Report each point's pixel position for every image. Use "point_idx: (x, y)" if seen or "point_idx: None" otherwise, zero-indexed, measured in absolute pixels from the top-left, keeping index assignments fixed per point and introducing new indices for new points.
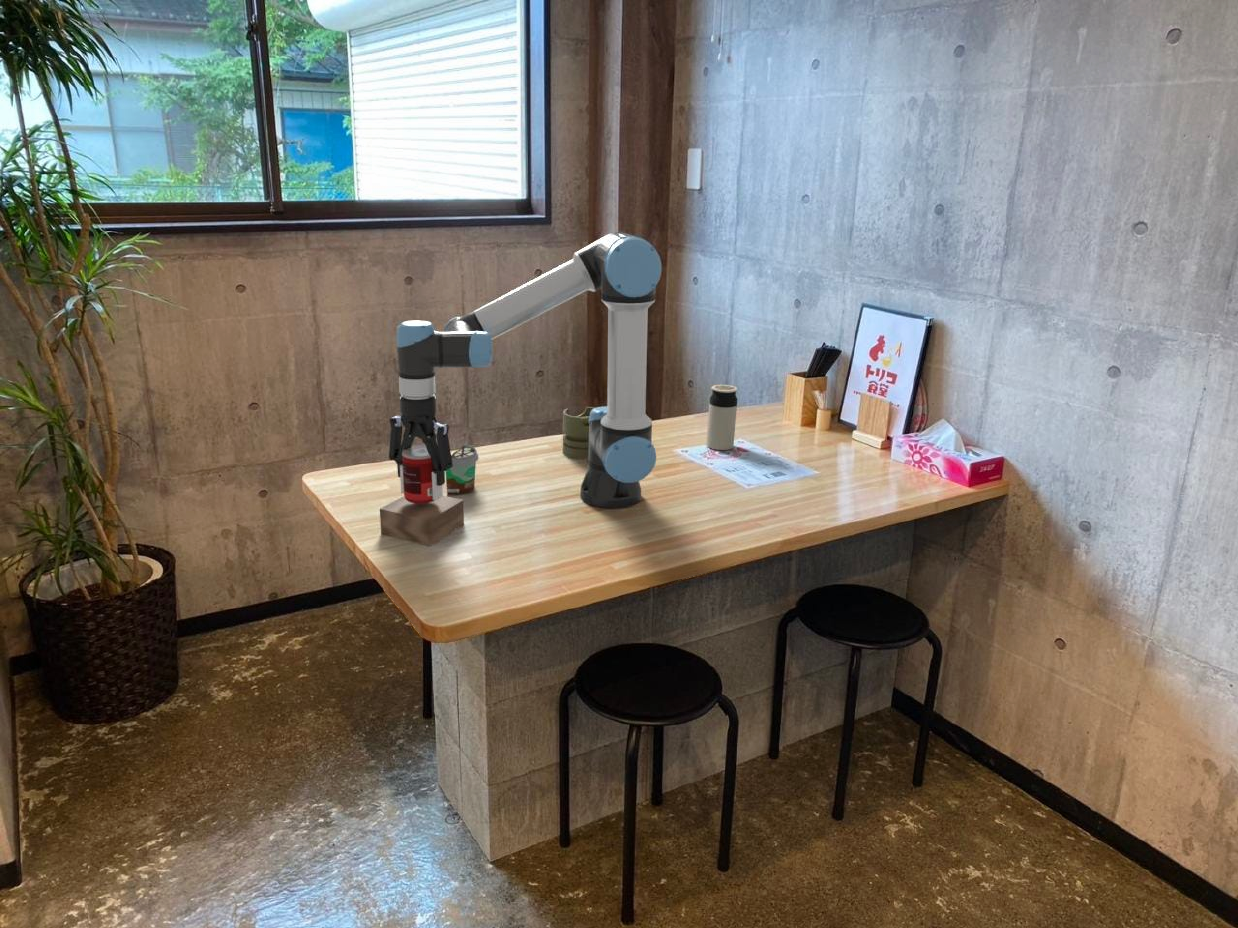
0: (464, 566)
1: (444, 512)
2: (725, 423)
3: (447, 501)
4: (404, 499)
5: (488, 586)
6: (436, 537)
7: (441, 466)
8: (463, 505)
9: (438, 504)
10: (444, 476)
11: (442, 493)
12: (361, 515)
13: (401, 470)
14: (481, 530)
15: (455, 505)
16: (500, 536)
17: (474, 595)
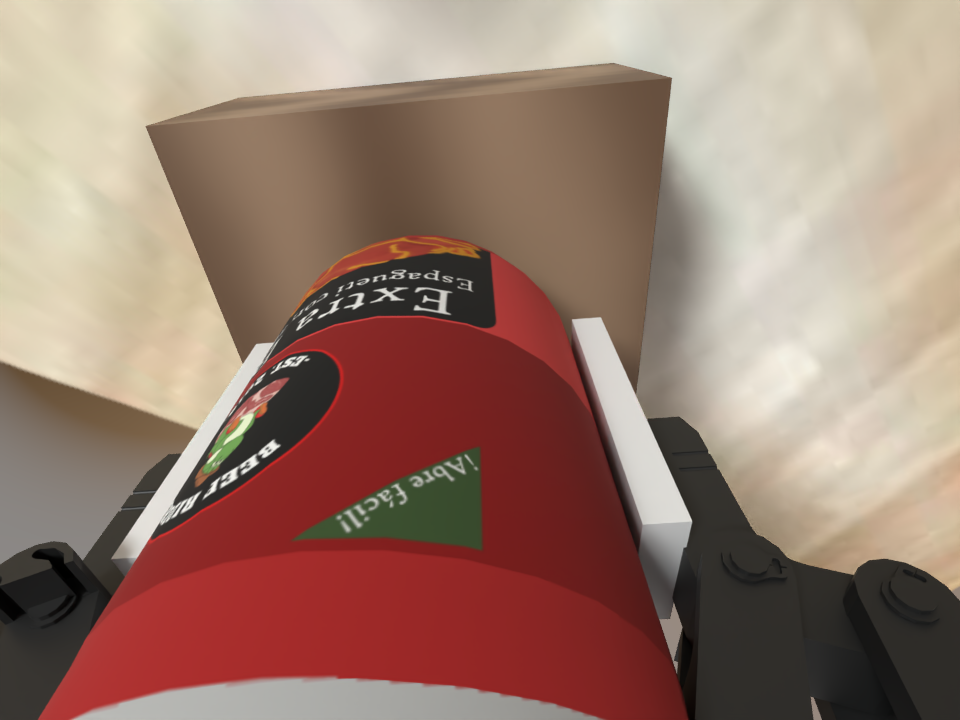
0: (814, 432)
1: (639, 336)
2: None
3: (562, 189)
4: (275, 332)
5: (945, 488)
6: None
7: (821, 714)
8: (654, 73)
9: (536, 273)
10: (722, 484)
11: (607, 333)
12: (56, 297)
13: None
14: (761, 79)
15: (655, 208)
16: (912, 89)
17: (909, 537)
